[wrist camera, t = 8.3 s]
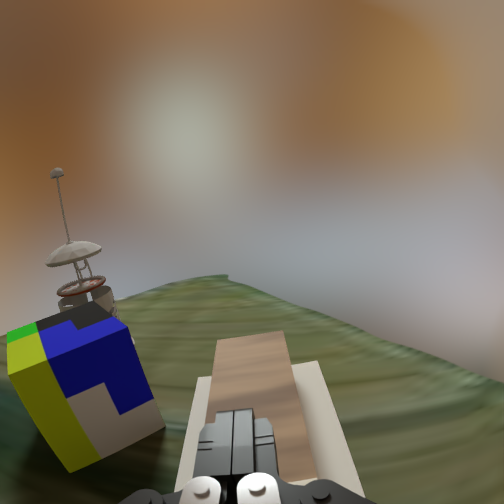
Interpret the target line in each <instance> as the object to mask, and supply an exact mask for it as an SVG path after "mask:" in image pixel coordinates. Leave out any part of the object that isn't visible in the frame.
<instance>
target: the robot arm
mask: <svg viewBox="0 0 504 504" xmlns="http://www.w3.org/2000/svg"><path fill="white" fill-rule="evenodd" d="M118 504H376V503H374V502H372V501H370V500H368V499H366V498H364V497H362V496H360V495H358V494H356V493H354V492H352V491H351V490H349V489H347V488H345V487H343V486H341V485H340V484H338V483H336V482H334V481H332V480H328V479H318V480H314V481H311V482H309V483H308V484H306V485H305V486H303V485H293V484H289V483H287V482H285V481H283V480H282V479H281V478H280V477H279V468H278V458H277V449H276V443H275V438H274V433H273V427H272V424H271V423H270V422H269V421H268V419H267V418H260V419H255V415H254V411H253V408H245V409H236V410H227V411H217V412H216V419H215V423H210V424H205V426H204V427H203V428H202V430H201V431H200V433H199V440H198V446H197V452H196V458H195V465H194V471H193V477H192V479H191V480H190V481H188V482H187V483H186V484H185V486H184V488H183V489H182V490H180V491H178V492H174V493H170V494H165V495H160V494H159V493H158V492H157V491H155V490H152V489H141V490H138V491H136V492H134V493H133V494H131V495H130V496H128V497H127V498H125V499H124V500H123V501H121V502H120V503H118Z"/></svg>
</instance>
